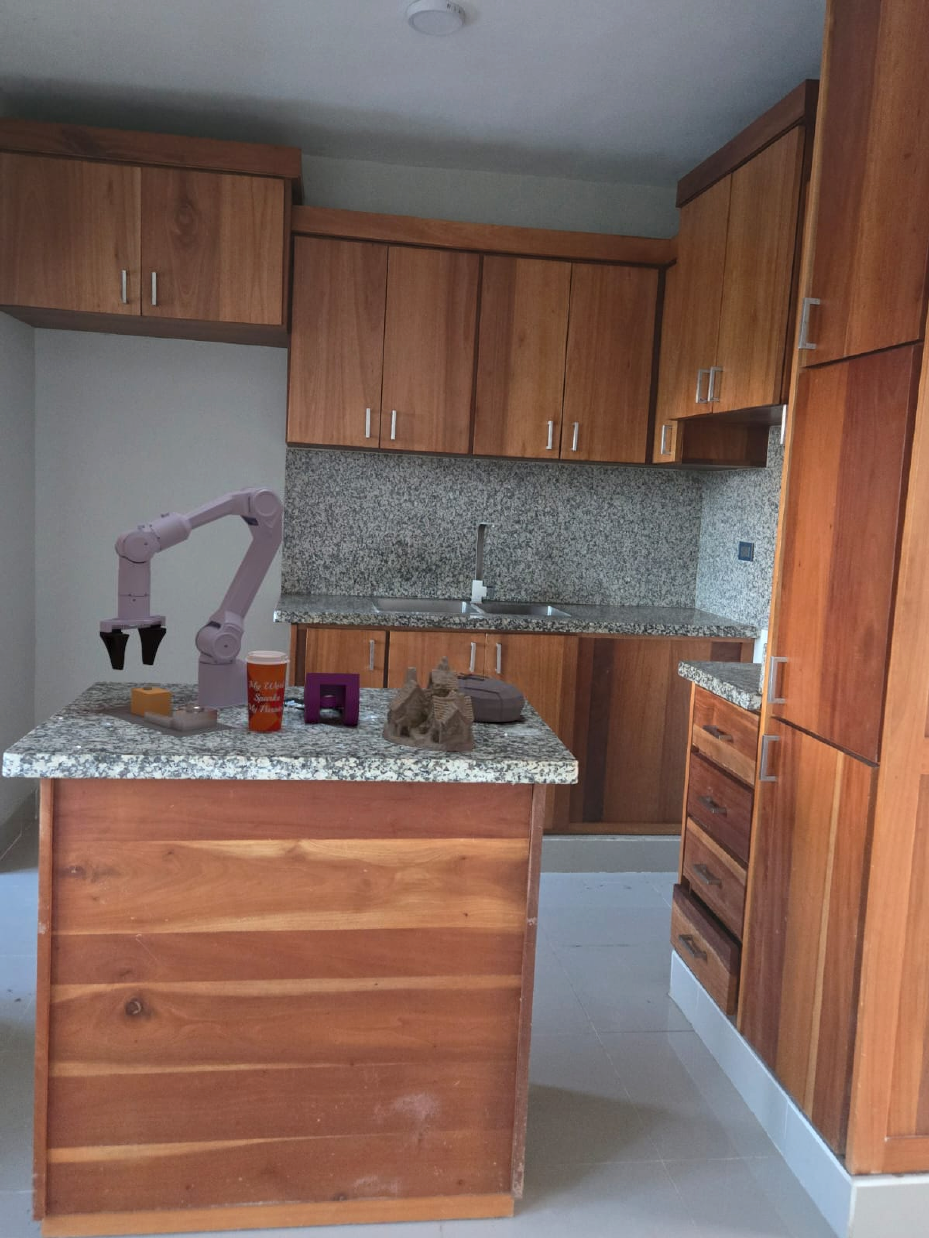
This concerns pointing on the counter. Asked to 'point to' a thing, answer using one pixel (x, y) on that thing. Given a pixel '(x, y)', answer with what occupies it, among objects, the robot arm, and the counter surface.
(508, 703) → the grey rounded bag
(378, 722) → the counter surface
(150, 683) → the counter surface
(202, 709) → the sliding latch
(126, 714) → the mat
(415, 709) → the ceramic cottage
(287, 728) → the counter surface
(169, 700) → the block
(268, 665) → the paper cup
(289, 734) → the counter surface
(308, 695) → the mounting bracket
